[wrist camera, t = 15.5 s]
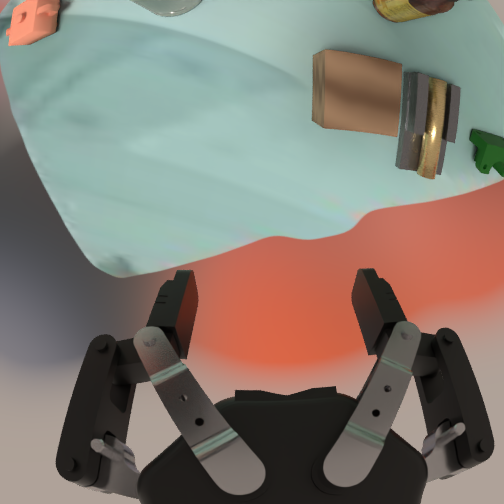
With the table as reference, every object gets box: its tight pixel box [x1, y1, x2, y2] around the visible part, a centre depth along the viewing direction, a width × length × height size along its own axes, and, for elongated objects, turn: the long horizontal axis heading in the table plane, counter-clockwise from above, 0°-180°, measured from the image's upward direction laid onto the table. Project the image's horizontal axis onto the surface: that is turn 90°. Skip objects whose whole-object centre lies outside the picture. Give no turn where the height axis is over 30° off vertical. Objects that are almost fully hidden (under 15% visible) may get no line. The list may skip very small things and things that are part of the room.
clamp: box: [470, 129, 504, 177], centre depth 32 cm, size 12×6×9 cm, turn 88°
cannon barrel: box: [417, 77, 447, 179], centre depth 31 cm, size 16×3×3 cm, turn 1°
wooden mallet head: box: [312, 49, 402, 137], centre depth 29 cm, size 10×10×8 cm
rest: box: [395, 72, 461, 175], centre depth 32 cm, size 16×9×4 cm, turn 1°
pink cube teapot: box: [6, 0, 60, 46], centre depth 19 cm, size 8×12×8 cm, turn 87°
